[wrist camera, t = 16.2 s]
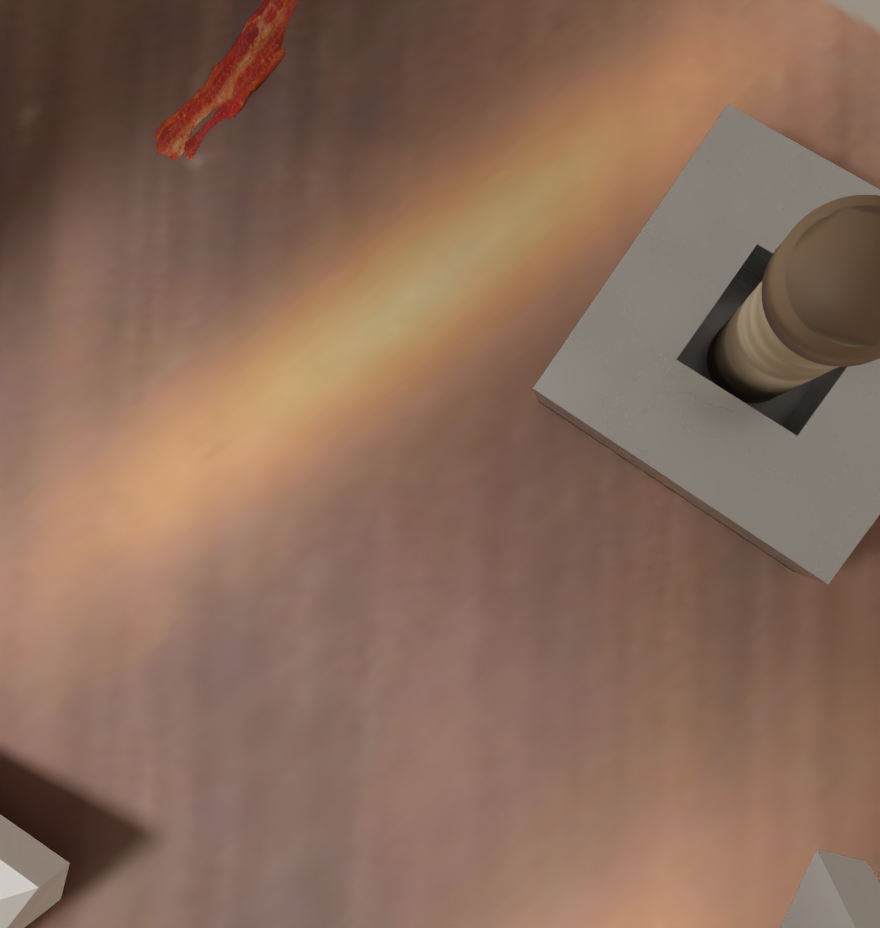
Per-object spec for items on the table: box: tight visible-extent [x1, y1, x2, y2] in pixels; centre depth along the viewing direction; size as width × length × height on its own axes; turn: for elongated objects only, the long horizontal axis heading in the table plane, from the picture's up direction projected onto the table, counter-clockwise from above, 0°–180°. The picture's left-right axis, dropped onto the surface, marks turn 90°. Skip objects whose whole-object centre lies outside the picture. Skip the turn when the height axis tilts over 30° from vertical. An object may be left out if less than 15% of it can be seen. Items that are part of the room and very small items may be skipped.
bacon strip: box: [155, 0, 298, 160], centre depth 41 cm, size 4×15×1 cm, turn 142°
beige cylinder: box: [707, 195, 880, 403], centre depth 28 cm, size 5×5×14 cm
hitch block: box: [533, 105, 880, 584], centre depth 33 cm, size 14×14×5 cm
